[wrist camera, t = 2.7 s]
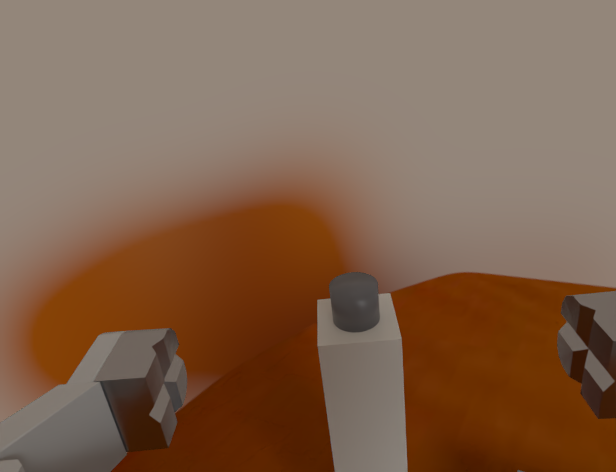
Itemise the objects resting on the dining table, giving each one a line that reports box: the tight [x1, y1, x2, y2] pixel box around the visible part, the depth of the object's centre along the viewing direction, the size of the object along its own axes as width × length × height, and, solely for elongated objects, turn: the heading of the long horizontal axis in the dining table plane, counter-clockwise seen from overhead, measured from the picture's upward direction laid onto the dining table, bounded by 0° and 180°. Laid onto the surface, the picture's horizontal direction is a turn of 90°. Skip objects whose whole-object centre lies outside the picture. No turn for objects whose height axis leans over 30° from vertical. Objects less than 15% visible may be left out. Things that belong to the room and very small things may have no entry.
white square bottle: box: [317, 272, 407, 472], centre depth 28 cm, size 4×4×17 cm
